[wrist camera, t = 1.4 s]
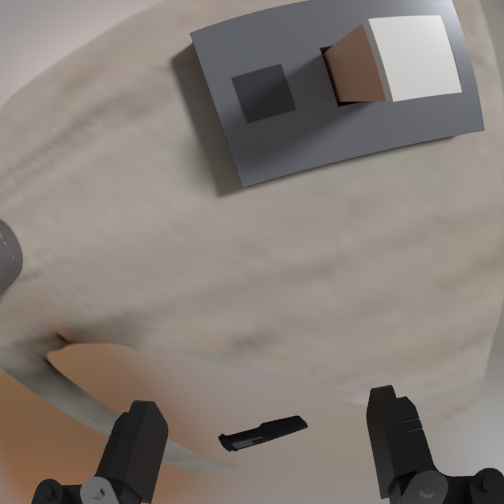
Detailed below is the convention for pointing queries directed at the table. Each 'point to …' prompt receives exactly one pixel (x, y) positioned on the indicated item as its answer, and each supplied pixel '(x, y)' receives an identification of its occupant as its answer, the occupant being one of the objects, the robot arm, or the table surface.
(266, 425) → the electric trimmer
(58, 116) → the table surface
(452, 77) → the plug
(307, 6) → the grey flat rectangular block
